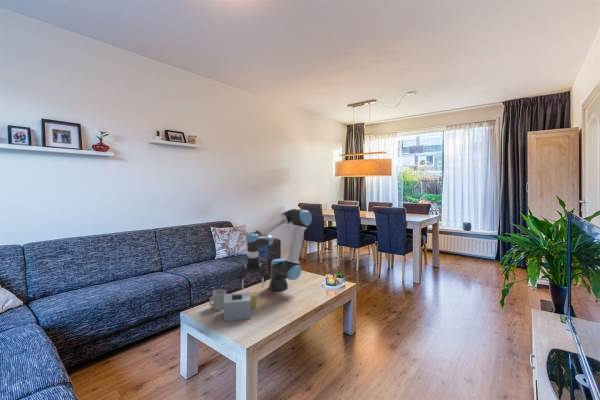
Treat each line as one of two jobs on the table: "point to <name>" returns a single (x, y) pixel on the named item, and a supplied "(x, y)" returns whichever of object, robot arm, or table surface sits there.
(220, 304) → the mug
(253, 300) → the gold rectangular block
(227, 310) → the grey box with hole
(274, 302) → the table surface
